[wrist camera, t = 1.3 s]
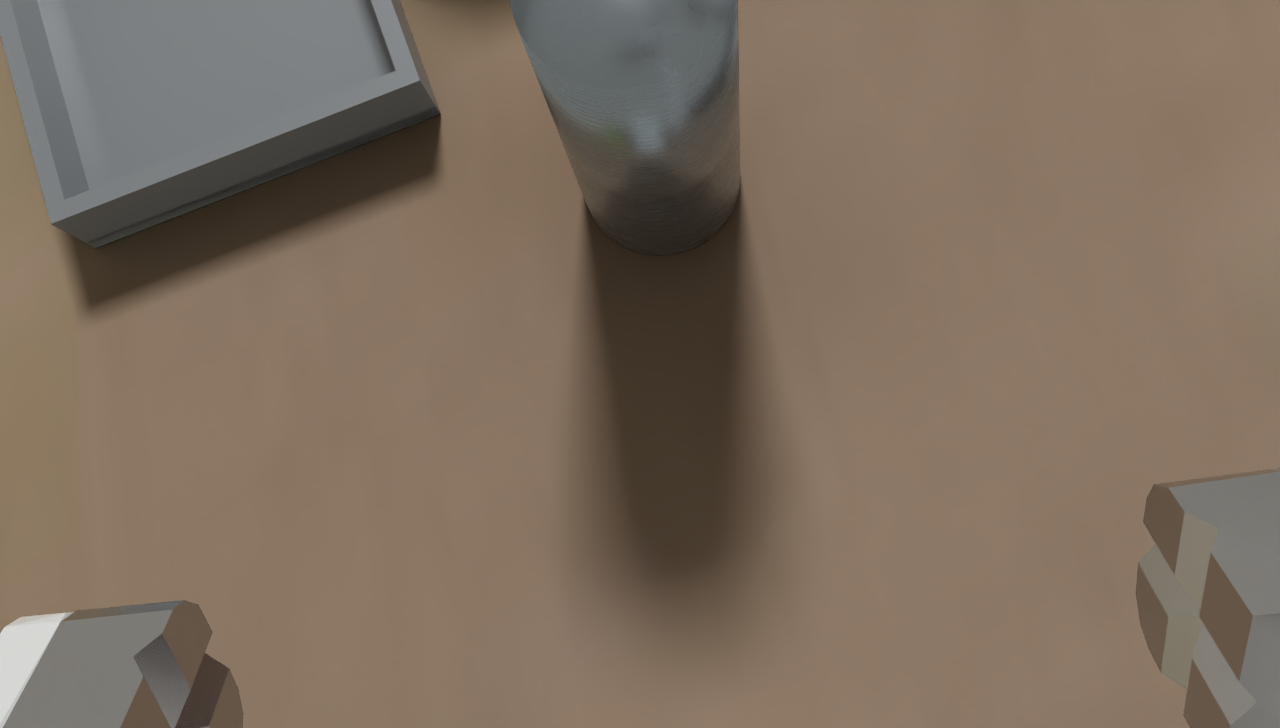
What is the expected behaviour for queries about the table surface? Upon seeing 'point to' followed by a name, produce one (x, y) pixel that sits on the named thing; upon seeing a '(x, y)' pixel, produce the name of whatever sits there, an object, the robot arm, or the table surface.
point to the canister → (643, 111)
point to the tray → (199, 98)
